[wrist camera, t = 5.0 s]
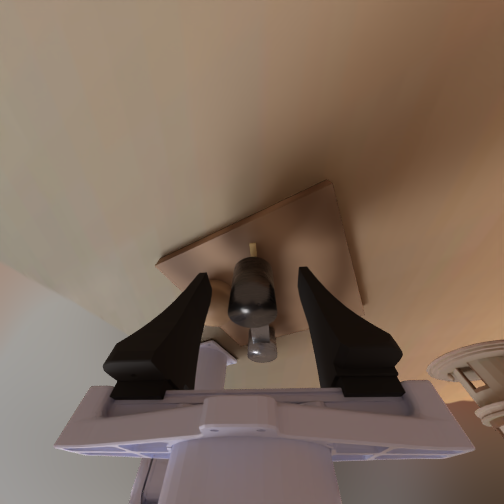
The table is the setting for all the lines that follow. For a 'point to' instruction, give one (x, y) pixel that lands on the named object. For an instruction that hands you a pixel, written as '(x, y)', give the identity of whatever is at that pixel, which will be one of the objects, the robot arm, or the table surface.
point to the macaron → (218, 304)
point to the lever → (255, 306)
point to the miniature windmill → (477, 377)
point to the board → (277, 255)
